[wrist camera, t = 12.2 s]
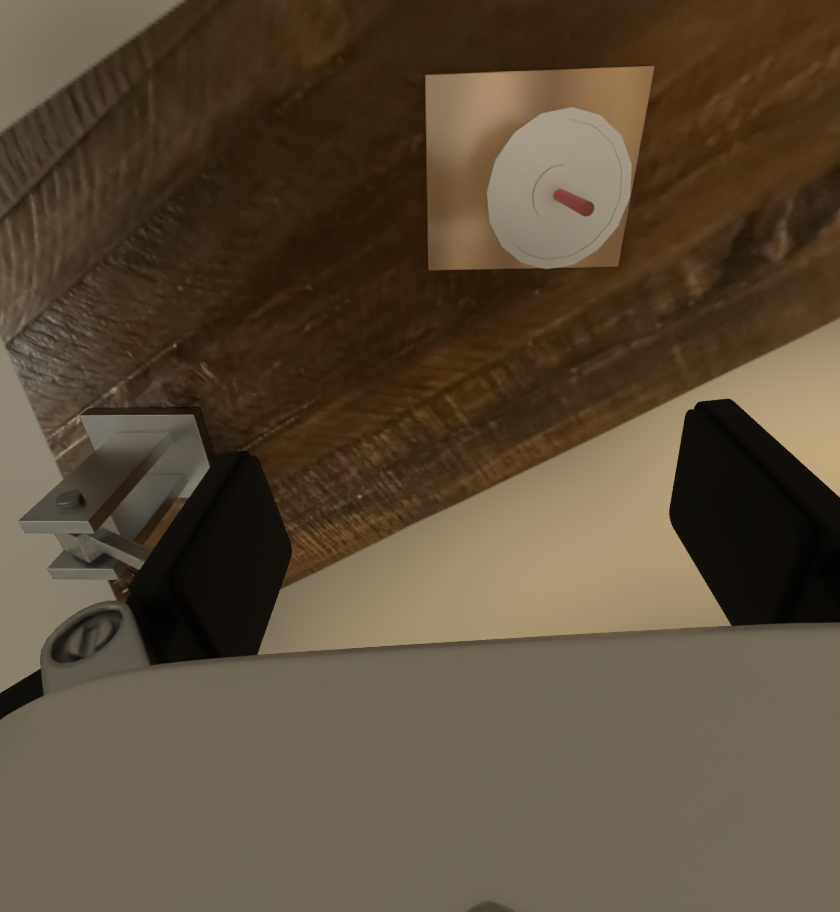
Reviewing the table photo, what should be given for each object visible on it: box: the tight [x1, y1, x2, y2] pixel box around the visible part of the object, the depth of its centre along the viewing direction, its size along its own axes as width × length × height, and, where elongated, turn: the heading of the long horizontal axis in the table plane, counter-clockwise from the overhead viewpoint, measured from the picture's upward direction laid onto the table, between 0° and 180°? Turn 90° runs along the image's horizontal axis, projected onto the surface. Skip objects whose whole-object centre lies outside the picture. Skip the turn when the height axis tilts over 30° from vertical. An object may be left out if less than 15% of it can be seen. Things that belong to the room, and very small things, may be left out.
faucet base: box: [18, 408, 215, 580], centre depth 36 cm, size 9×8×12 cm
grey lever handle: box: [54, 515, 153, 570], centre depth 31 cm, size 12×3×3 cm, turn 92°
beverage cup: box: [486, 107, 632, 269], centre depth 23 cm, size 6×6×14 cm
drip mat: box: [425, 66, 654, 270], centre depth 29 cm, size 12×10×1 cm
